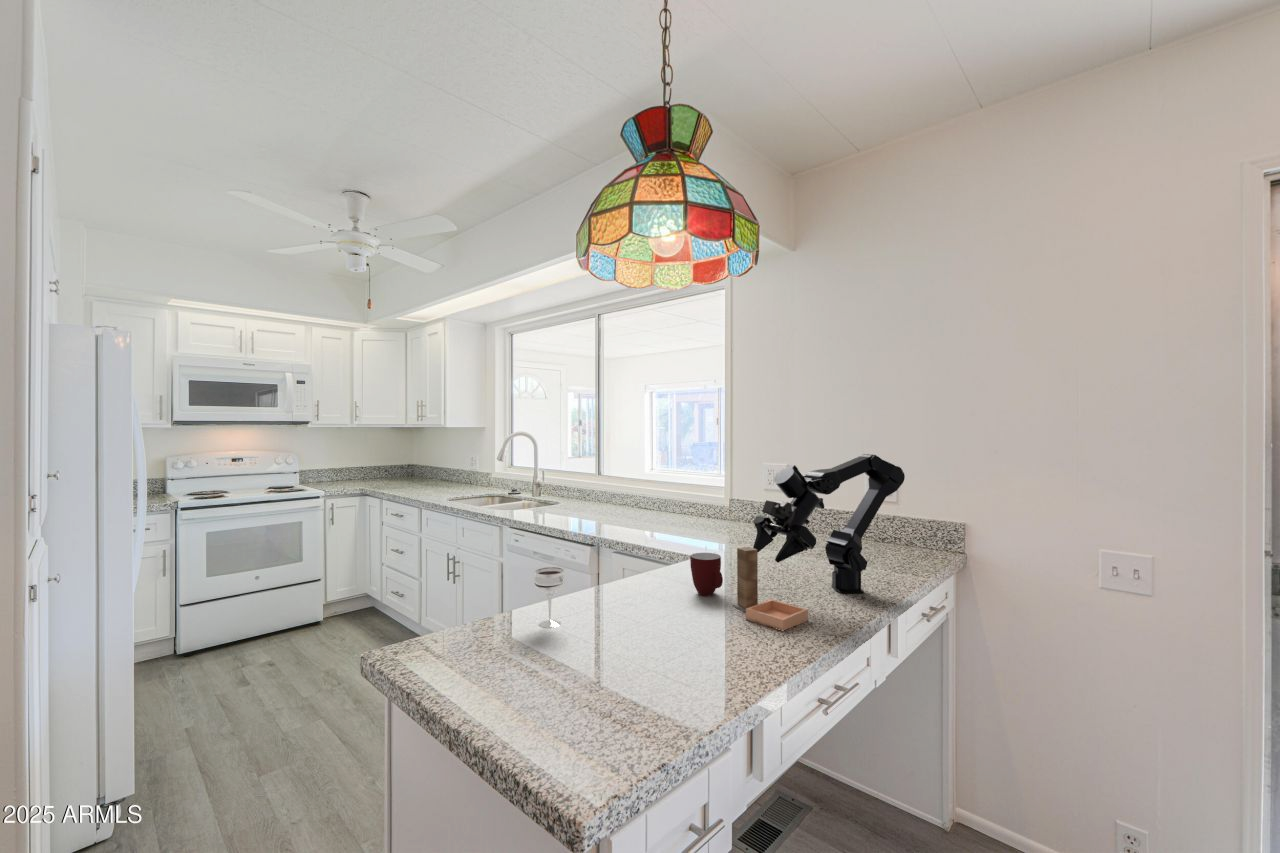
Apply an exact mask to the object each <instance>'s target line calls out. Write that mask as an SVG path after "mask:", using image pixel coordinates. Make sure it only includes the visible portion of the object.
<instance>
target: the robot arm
mask: <svg viewBox="0 0 1280 853" xmlns="http://www.w3.org/2000/svg"><path fill="white" fill-rule="evenodd" d="M863 474H865V475H866V476H868V479H867V480H868V489H867V491H866V492H865V493H864V496H863V497H862V499H861V501H860V502H859V504H858V505H857V507H856V509H855V511H854V512H853V514H852V516H851V517H850V519H849V520H848V522H847V524H846V525H845V527H844V528H843V529H841V530H839V529H834V530H833V531H832V532H831V534H830V536H829V537H828V539H826V545H825V546H824V548H825V549H824V550H825V554H826V557H827V560H828V563H829V565H831V566H833V571H831V572H832V573H831V579H832V581H831V587H832V588H833V589H835V591H837V592H838V593H840V594H864V593H865V590H863V589H862V572H863V571H864V570H867V565H868V561H867V560H866V559H865V558H864V556H863V555H862V554H861V553H862V550H863V542H862V538H863V537H864V535H865V534H866V531H867V530H868V528H869V526H870V525H871V523H872V522H873V520H874V518H875V517H876V515H877V513H878V512H879V510H880V509H881V506H882V505H883V503H884V501H885V500H886V498H887V497H890V496H891V495H892V494H894V493H895V492H897V491H898V490H899V489H900V487H901V486H902V485H903V484H904V481H905V472H904V470H903V469H902V467H900V466H899V465H895V464H893V463H891V462H889V461H886V460H884V459H882V458H881V457H879V456H878V455H877V454H869V453H867V454H866V453H863V454H860V455H859V456H857V457H854V458H853V459H851V460H847V461H846V462H843V463H840V464H837V465H836V466H833V467H831V468H824V469H823V468H822V469H821V468H820V469H815V470H811V471H807V473H806V474H805V475H803V474H802V473H801V472H800V470H799V468H798V467H797V466H796V464H795V465H794V464H789V465H788V467H786V468H784V469H783V468H782V469H781V470H780V471H779V472H777V473H776V474H775V475H774V478H773V482H774V483H775V485H777V487H778V488H779V490H780V491H781V492H782V493H783V494H784V495H785V497H786V498H788V499H792V500H791V501H790V502H788V501H782V502H781V503H779V502H776V501H773V500H768V499H766V500H765V502H764V504H763V507H762V511H761V513H763V514H766V515H768V516H771V518H770V517H768V516H763V515H756V516H755V518H754V520H752V523H753V524H754V527H755V528H756V529H755V530H756V536H755V540H754V544H753V547H752V548H754V549H757V554H758V553H759V552H761V551H762V550H763V549H764V548H766V547H767V546H768V545H770V543H772V542H773V541H774V538H775V537H777V535H779V534H780V535H784V536H786V538H785V539H786V540H785V542H784V543H783V545H782V546H781V548H780V550H779V551H778V553H777V554H776V557H775V558H774V561H775V563H781V562H783V561H784V560H787V559H788V558H791V557H792V556H795V555H797V554H799V553H802V552H804V551H805V552H806V551H808V549H810V550H813V549H814V548H815V546H816V545H817V538H816V536H815V535H814V534H813V533H812V532H811V531H810V529H809V528H808V527H807V526H808V524H810V520H809V517H810V516H811V514H812V513H813V512H814V510H815V509H816V508H817V509H822V510H825V504H824V498H823V497H819V496H818V495H817V494H820V495H831V494H832V493H834V492H835V491H837V490H838V489H839V488H840V486H841V484H842V483H844V482H846V481H849V480H852V479H853V478H856V477H858V476H860V475H863ZM805 525H806V526H805Z"/></svg>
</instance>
